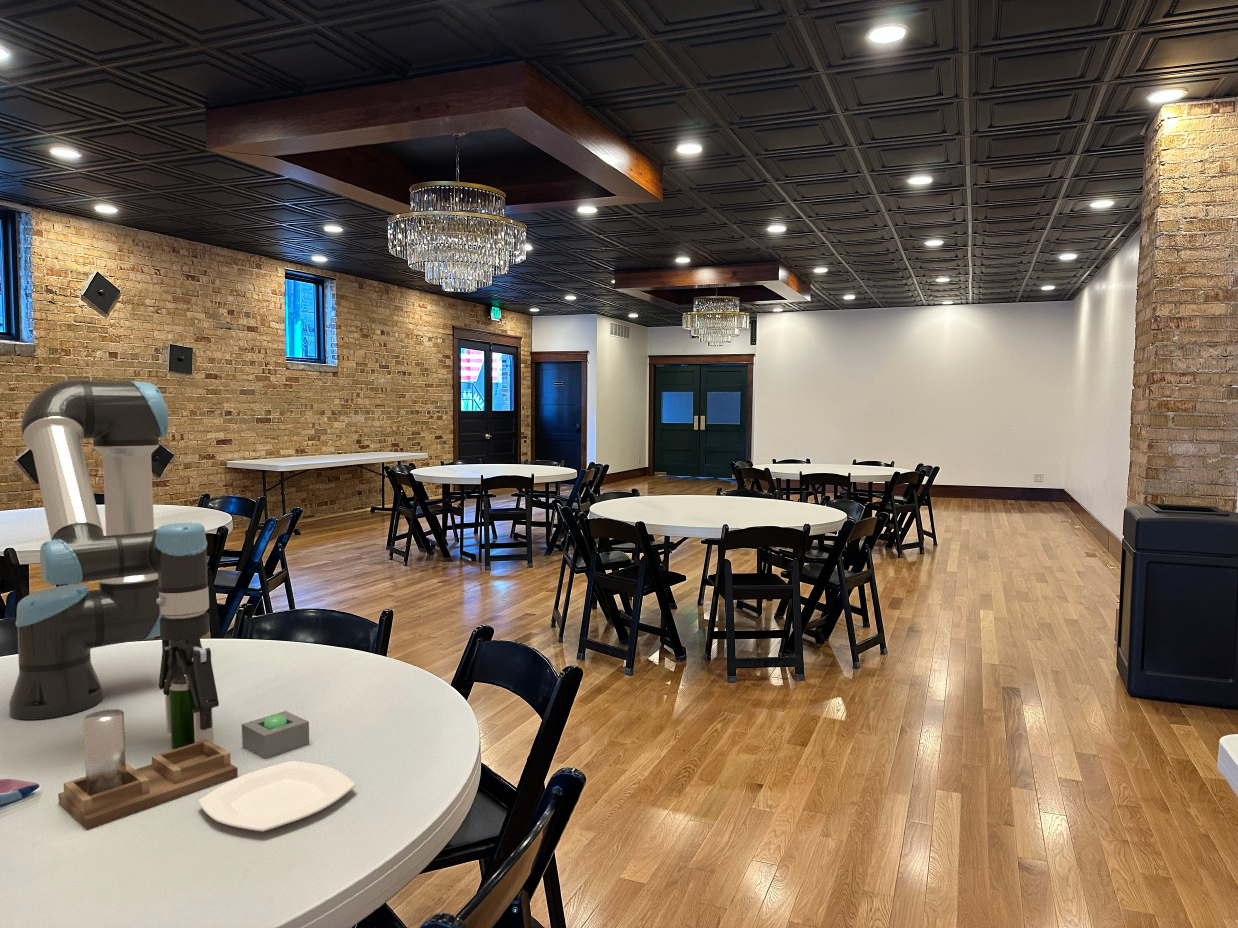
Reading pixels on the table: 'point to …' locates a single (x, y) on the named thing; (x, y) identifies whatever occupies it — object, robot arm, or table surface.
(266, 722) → the button
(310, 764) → the plate
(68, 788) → the wooden tray
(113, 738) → the cylinder
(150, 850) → the table surface
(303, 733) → the grey square socket block
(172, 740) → the green drink can
